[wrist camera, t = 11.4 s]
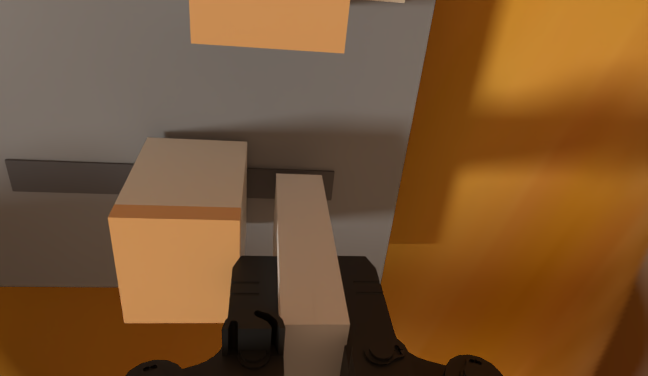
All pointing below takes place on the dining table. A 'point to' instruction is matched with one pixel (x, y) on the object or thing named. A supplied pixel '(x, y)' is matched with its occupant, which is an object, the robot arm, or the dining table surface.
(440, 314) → the dining table surface
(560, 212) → the dining table surface
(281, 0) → the slider mid
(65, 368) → the dining table surface
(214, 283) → the slider
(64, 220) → the switch unit
